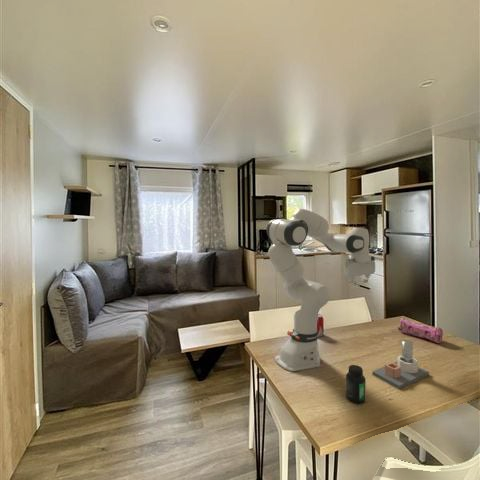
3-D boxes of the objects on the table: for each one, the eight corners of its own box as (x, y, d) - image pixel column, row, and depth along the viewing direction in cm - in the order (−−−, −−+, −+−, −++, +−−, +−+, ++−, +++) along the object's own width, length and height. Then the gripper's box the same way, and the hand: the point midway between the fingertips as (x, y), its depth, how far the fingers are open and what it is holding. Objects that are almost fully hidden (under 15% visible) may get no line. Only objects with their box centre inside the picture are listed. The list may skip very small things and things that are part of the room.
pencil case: (396, 333, 161) (396, 318, 161) (404, 329, 166) (404, 315, 166) (438, 346, 143) (438, 330, 143) (445, 342, 148) (445, 326, 148)
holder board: (399, 389, 107) (399, 375, 107) (372, 374, 118) (372, 362, 117) (428, 375, 117) (429, 362, 116) (401, 362, 127) (401, 351, 127)
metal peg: (409, 371, 117) (409, 344, 116) (400, 367, 120) (400, 341, 120) (414, 369, 118) (414, 342, 118) (405, 365, 122) (405, 339, 122)
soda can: (324, 337, 156) (324, 317, 156) (311, 337, 158) (311, 317, 157) (323, 333, 163) (323, 313, 163) (311, 332, 165) (311, 313, 164)
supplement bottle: (366, 406, 98) (367, 374, 97) (346, 403, 99) (346, 371, 99) (363, 394, 104) (363, 364, 103) (344, 391, 106) (345, 362, 105)
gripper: (351, 260, 135) (351, 287, 136) (377, 257, 144) (377, 282, 145) (341, 258, 140) (341, 284, 141) (367, 256, 150) (367, 280, 151)
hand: (359, 283), depth 143 cm, fingers open, 8 cm apart
